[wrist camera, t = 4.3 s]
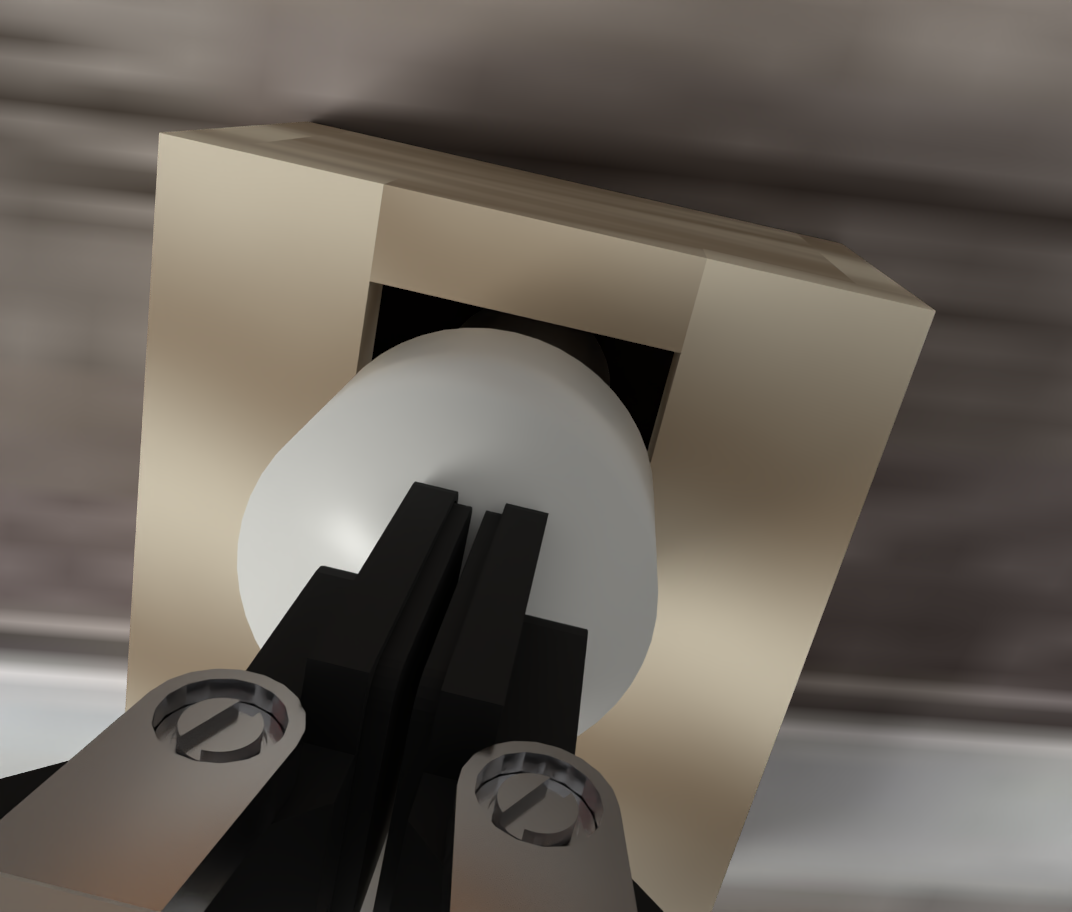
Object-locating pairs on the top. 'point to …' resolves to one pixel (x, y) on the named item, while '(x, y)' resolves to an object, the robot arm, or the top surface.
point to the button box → (555, 297)
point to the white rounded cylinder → (475, 481)
